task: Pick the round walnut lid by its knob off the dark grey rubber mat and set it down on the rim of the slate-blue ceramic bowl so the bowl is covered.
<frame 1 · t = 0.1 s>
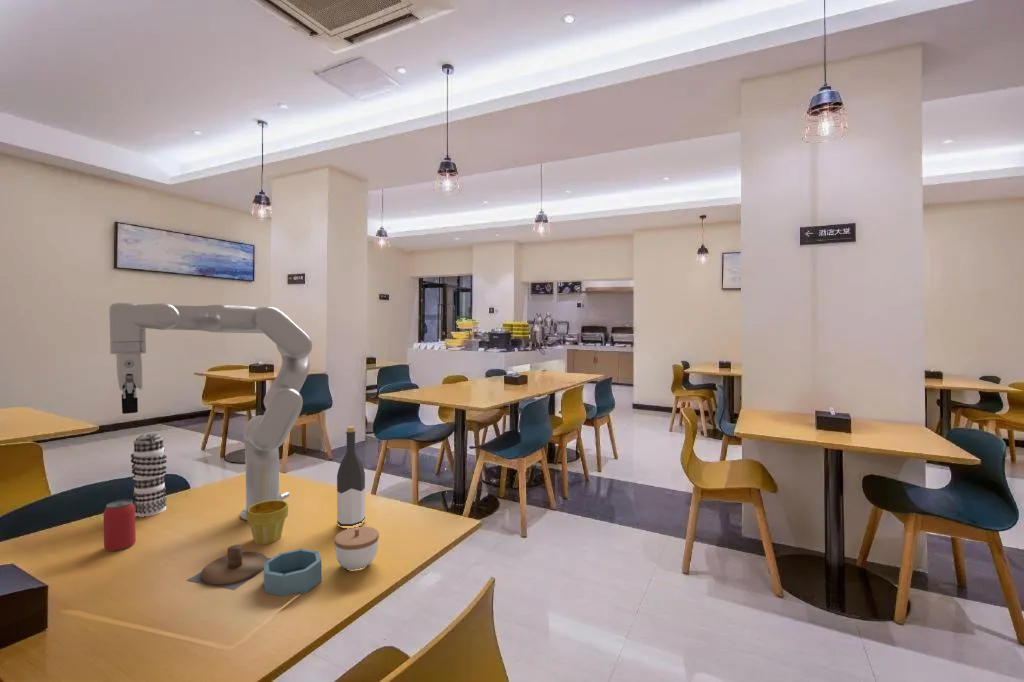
hand: (129, 410, 127), 37 cm above the table, tool pointing down, fingers open, 9 cm apart
bowl: (292, 582, 109), on the table
lidded jar: (357, 566, 118), on the table
mat: (235, 571, 114), on the table
beer can: (120, 547, 127), on the table
lid: (235, 569, 114), point 1 cm above the table, touching mat
wine bottle: (351, 524, 142), on the table
plant pot: (268, 541, 131), on the table
decorative candle: (150, 512, 150), on the table
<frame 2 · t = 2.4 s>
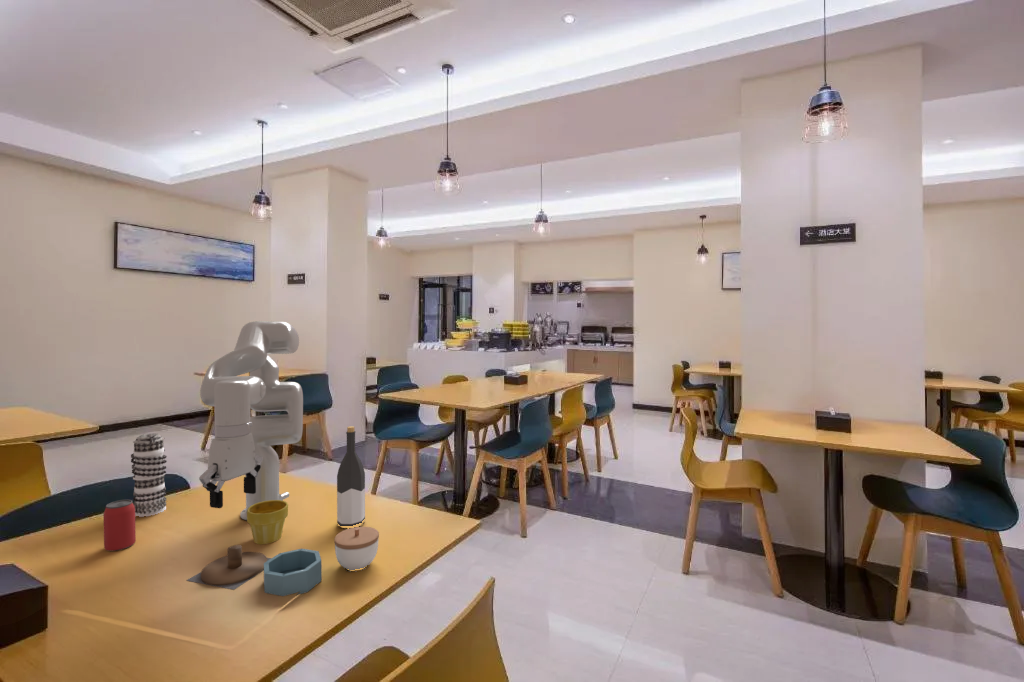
hand: (233, 499, 113), 18 cm above the table, tool pointing down, fingers open, 9 cm apart
nothing on the table moved.
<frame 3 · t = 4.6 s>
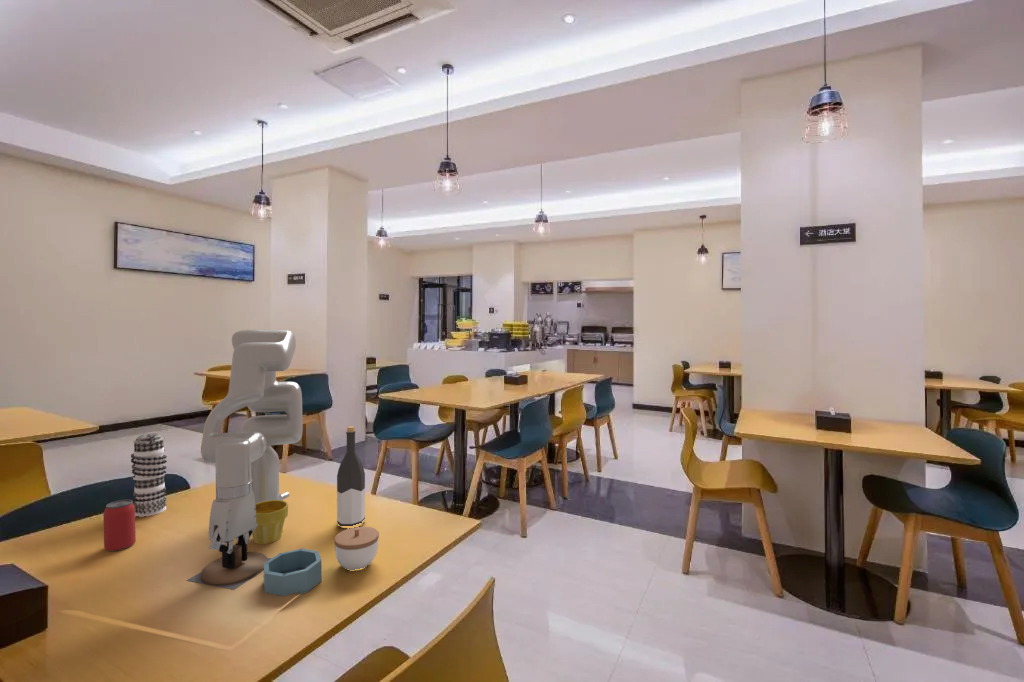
hand: (234, 563, 114), 2 cm above the table, tool pointing down, fingers closed on lid, 3 cm apart
lid: (235, 569, 114), point 1 cm above the table, touching gripper, mat
everything else where it was.
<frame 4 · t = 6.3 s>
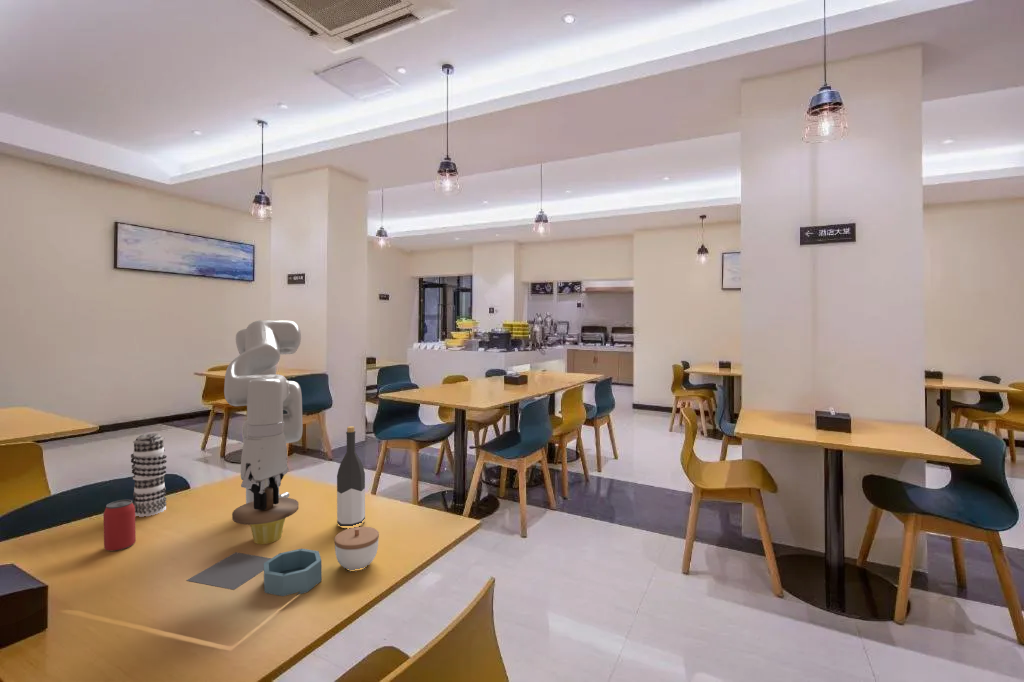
hand: (266, 505, 110), 18 cm above the table, tool pointing down, fingers closed on lid, 3 cm apart
lid: (266, 512, 111), point 16 cm above the table, touching gripper
everything else where it was.
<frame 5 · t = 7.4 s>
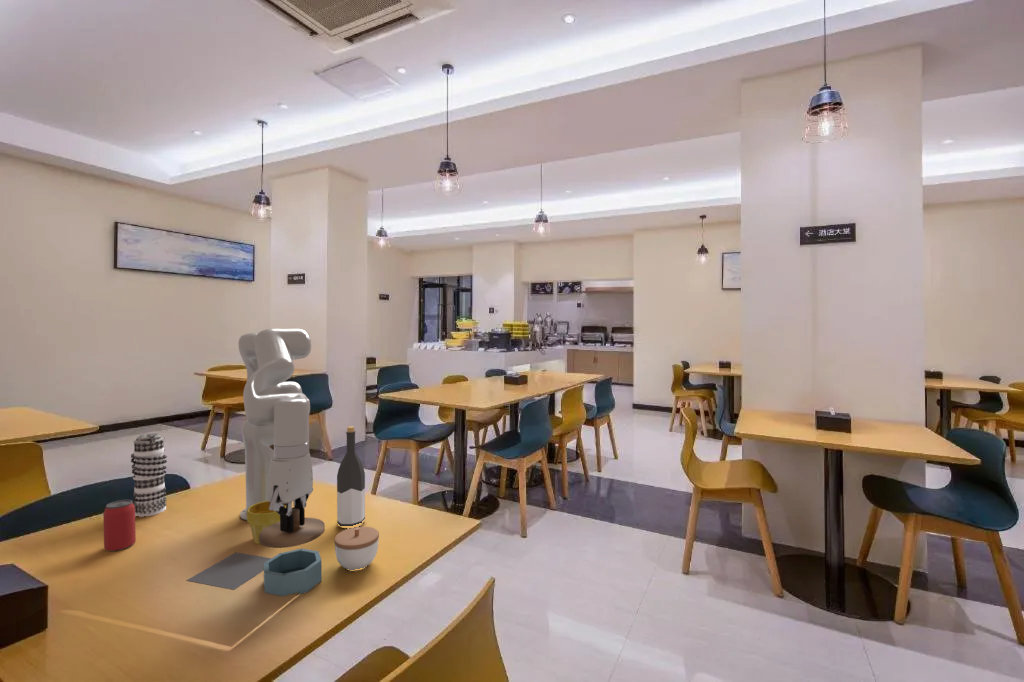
hand: (292, 527, 109), 13 cm above the table, tool pointing down, fingers closed on lid, 3 cm apart
lid: (292, 533, 109), point 12 cm above the table, touching gripper
everything else where it was.
when the fingers open (8 cm above the table, at t = 8.3 s): lid drops 2 cm, resting on bowl.
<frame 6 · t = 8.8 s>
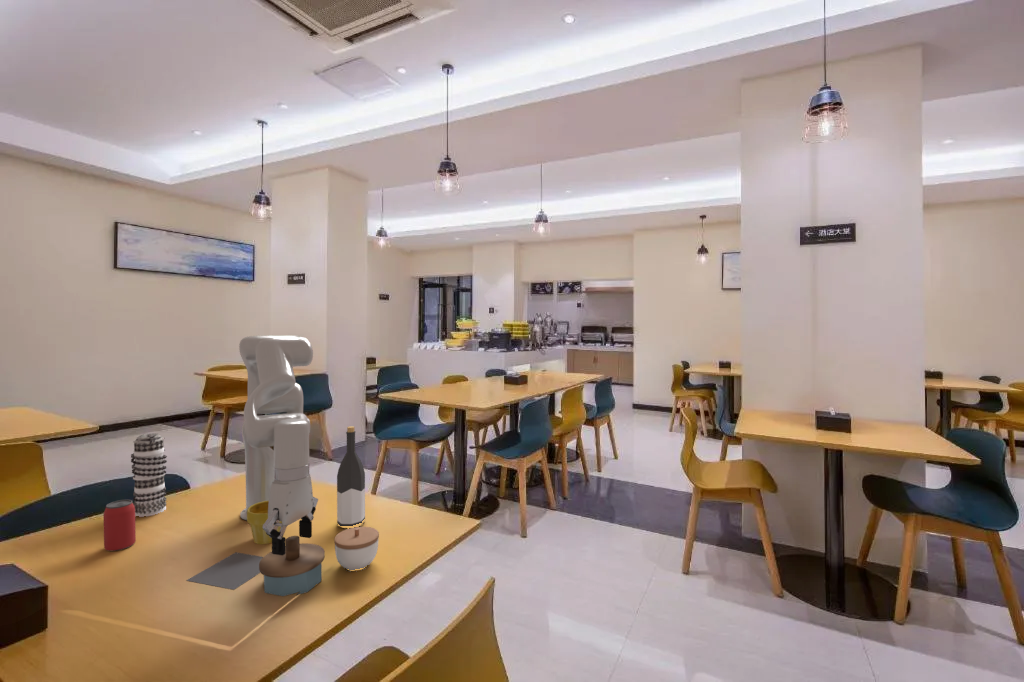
hand: (292, 544, 109), 9 cm above the table, tool pointing down, fingers open, 8 cm apart
lid: (292, 561, 109), point 5 cm above the table, touching bowl
everything else where it was.
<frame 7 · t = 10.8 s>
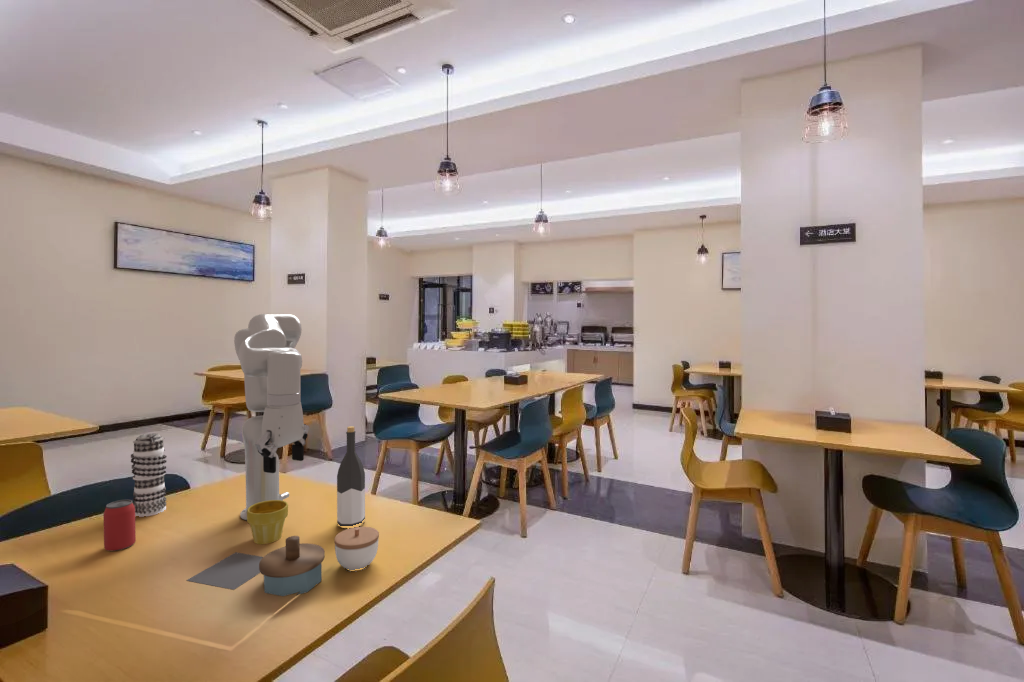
hand: (284, 465, 118), 25 cm above the table, tool pointing down, fingers open, 9 cm apart
nothing on the table moved.
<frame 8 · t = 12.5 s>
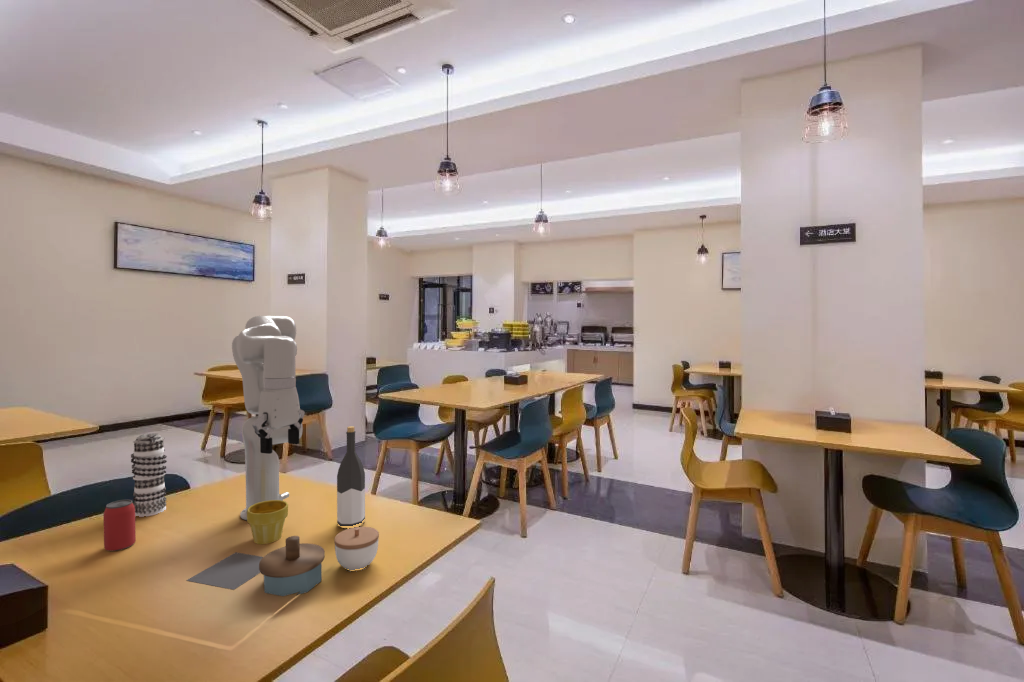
hand: (280, 448, 123), 28 cm above the table, tool pointing down, fingers open, 9 cm apart
nothing on the table moved.
at the end: lid 0.1 cm from the bowl (horizontally); lid 0.1 cm off-centre on the bowl, point 5.0 cm above the bowl's base; lid tilted 0° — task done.
